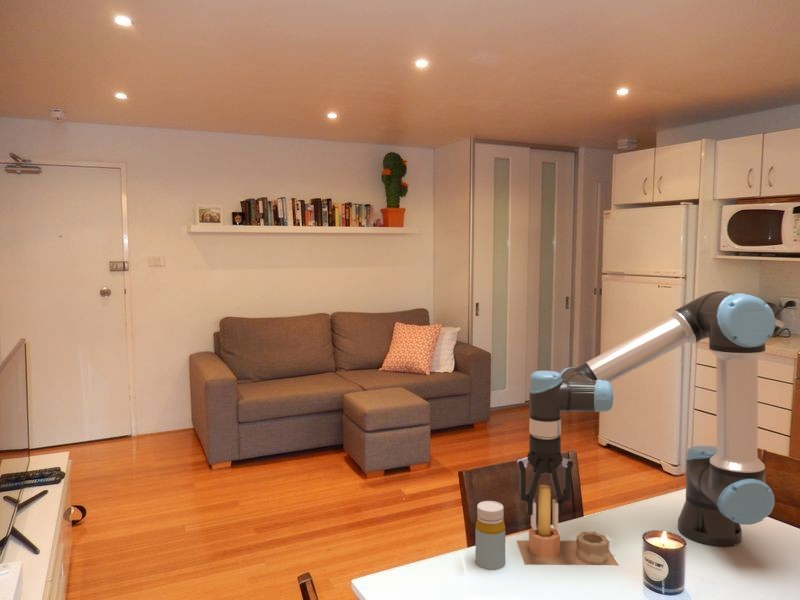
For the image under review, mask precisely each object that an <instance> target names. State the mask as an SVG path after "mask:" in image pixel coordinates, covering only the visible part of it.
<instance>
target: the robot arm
mask: <svg viewBox="0 0 800 600" xmlns="http://www.w3.org/2000/svg"><path fill="white" fill-rule="evenodd" d="M775 328H776V317H775V314H774V311H773V310H772V308H771V306H770V305H769V304H768V303H767V302H766V301H764V300H763V299H761V298H759V297H757V296H754V295H752V294H748V293H742V292H741V293H740V292H730V291H724V290H721V291H720V290H715V291H712V292H708V293H706V294H703V295H701V296H699V297H697V298H694V299H693V300H692V301H690V302H688V303H685V304H684V305H682V306H680V307H679V308H677V309H675V310H673V311H672V312H671V316H670V317H669V318H666V319H665V320H663V321H660V322H659V323H657V324H655V325H653V326H652V327H649V328H647V329H646V330H644V331H642V332H640V333H639V334H637V335H634V336H633V337H631V338H629V339H627V340H625V341H623V342H621V343H619V344H618V345H616V346H614V347H613V348H612V347H611V348H610V349H609V350H607V351H605V352H603V353H601V354H599V355H597V356H596V357H593V358H591V359H590V360H588V361H586V362H584V363H582V364H580V365H578V366H576V367H574V366H573V367H572V366H571V367H566V368H564V369H562V370H561V371H560V372H558V371H553V370H537V371H533V372H532V373H531V375H530V378H529V379H530V380H529V389H528V394H529V395H528V396H529V402H528V403H529V404H528V405H529V426H528V427H529V429H528V431H529V433H530V434H529V437H528V438H529V441H528V442H529V443H528V445H529V446H528V447H529V448H528V449H529V450H528V454H527V455H526V457H523V458H521V457H519V458H517V459H516V462H517V466H518V468H519V470H518V471H519V472H518V473H519V474H518V478H519V479H518V481H519V482H518V487H519V488H518V493H519V494H518V496H519V498H520V501H523V502H526V513H527V515H528V516H530V526H531V528H532V529H533V530H536V526H537V502H536V501H535V496H536V491H537V489H538V483H539V480H540V478H541V475H542V474H545V473H546V474H549V476H550V479H551V483H552V484H551V485H552V487H553V491H554V496H555V498H553V499H552V526H553V527H552V528H553V529H555V530H557V531H558V530H559V516H562V515H563V505H564V502H566V501H567V502H568V501H571V485H572V481H571V479H572V477H571V473H572V468H573V466H574V462H573V461H572V459H571V458H568V457H567V458H565V457H563V455H562V454H561V453H562V451H561V450H562V448H561V447H562V437H561V436H560V435H561V434H562V412H581V413H582V412H584V413H585V412H589V413H592V412H593V413H601V412H610V410H612V407H613V406H614V390H613V387H612V384H611V383H612V382H615V381H616V380H619V379H620V378H622V377H624V376H626V375H627V374H629V373H631V372H633V371H635V370H637V369H640V368H642V367H643V366H646V365H647V364H649V363H650V362H652V361H653V362H654V361H655V360H656V359H659V358H661V357H662V356H664V355H666V354H669V352H672V351H674V350H675V349H677V348H679V347H681V346H684V345H685V344H687V343H689V344H691V345H692V344H696V343H698V342H701V341H702V340H704V339H708V340H709V341H708V342H709V345H708V347H709V348H708V349H709V351H710V352H711V353H712V354H713V355H714V356H715V359H716V379H715V380H716V388H715V390H716V446H713V445H695V446H692V447H689V448H688V449H687V452H686V458H685V462H686V463H685V467H686V468H685V470H686V471H685V501H684V504H683V505H682V508H681V511H680V514H679V516H678V517H677V519H678V520H677V529H678V531H679V533H680V534H681V535H682V536H684V537H686V538H687V539H690V540H692V541H695V542H697V543H701V544H703V545H704V544H705V545H708V546H716V547H731V546H735V545H738V544H740V543H741V542H742V539H743V537H742V536H743V530H742V527H741V525H745V526H747V525H748V526H750V525H755V524H758V523H760V522H763V521H764V519H766V518H768V517H769V515H770V514H771V513H772V511H773V510H774V507H775V501H776V500H775V499H776V498H775V495H774V492H773V490H772V489H771V487H770V486H769V484H768V483H766V466H765V463H763V462H762V460H760V458H759V457H758V433H759V432H758V426H759V425H758V424H759V423H758V421H759V420H758V418H759V417H758V409H759V407H758V404H759V403H758V399H759V398H758V397H759V396H758V393H759V391H758V390H759V389H758V385H759V384H758V383H759V380H758V377H759V376H758V375H759V374H758V372H759V371H758V370H759V365H758V364H759V362H758V361H759V358H760V357H761V356H763V354H765V353H766V343H767V342H768V341H769V338H770V337H772V336H773V334H774V332H775V330H776V329H775ZM528 463H529V464H530V465H531V466H532V473H531V477H530V482H529V484H528V489H527V481H526V480H527V477H526V476H527V472H526V469H527V467H528ZM560 464H561V465H562V467H563V471H562V472H563V474H562V476H563V477H562V479H563V481H562V490H561V487H560V483H559V477H558V473H557V469H558V467H559V466H560ZM561 491H562V492H561ZM526 492H527V493H526Z"/></svg>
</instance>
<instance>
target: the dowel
mask: <svg viewBox="0 0 800 600" xmlns="http://www.w3.org/2000/svg"><path fill="white" fill-rule="evenodd" d="M551 489H552V487H551V486H550V485H547V484H540V485H537V490H538V491H537V496H538V497H537V509H538V510H537V515H538V518H537V526H538V535H539V536H542V537H551V528H552V526H551V524H552V523H551V520H552V518H551V517H552V515H551V514H552V512H551V509H552V508H551V507H552V502H551V501H552V499H551V498H552V497H551V496H552V490H551Z"/></svg>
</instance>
